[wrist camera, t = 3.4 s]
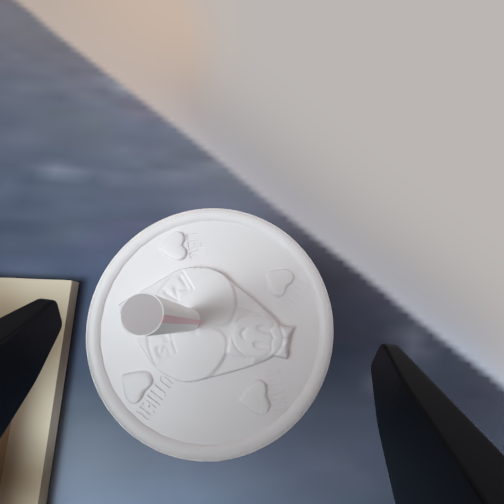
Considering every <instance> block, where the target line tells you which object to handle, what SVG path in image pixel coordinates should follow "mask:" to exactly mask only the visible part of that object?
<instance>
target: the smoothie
mask: <svg viewBox="0 0 504 504" xmlns="http://www.w3.org/2000/svg"><path fill="white" fill-rule="evenodd" d="M333 328H334V327H333V315H332V309H331V304H330V300H329V296H328V293H327V290H326V287H325V285H324V282H323V280H322V278H321V276H320V274H319V272H318V270H317V268H316V266H315V265H314V263H313V262H312V260H311V259H310V257H309V256H308V255H307V253H306V252H305V251H304V250H303V249H302V248H301V247H300V245H299V244H298V243H297V242H296V241H294V240H293V239H292V238H291V237H290V236H289V235H288V234H286V233H285V232H284V231H282V230H281V229H280V228H278V227H276V226H275V225H273V224H271V223H270V222H267V221H265V220H263V219H261V218H259V217H256V216H254V215H251V214H248V213H244V212H240V211H235V210H229V209H218V208H211V209H197V210H191V211H186V212H182V213H178V214H175V215H172V216H169V217H167V218H164V219H162V220H160V221H158V222H156V223H154V224H152V225H150V226H149V227H147V228H146V229H144V230H143V231H141V232H140V233H138V234H137V235H136V236H135V237H133V238H132V239H131V240H130V241H129V242H128V243H127V244H126V245H125V246H123V248H122V249H121V250H120V251H119V252H118V253H117V254H116V255H115V257H114V258H113V259H112V261H111V262H110V263H109V265H108V266H107V268H106V270H105V271H104V273H103V275H102V276H101V278H100V281H99V283H98V285H97V287H96V289H95V292H94V295H93V297H92V301H91V304H90V308H89V313H88V318H87V326H86V351H87V359H88V364H89V368H90V373H91V376H92V379H93V382H94V385H95V387H96V389H97V391H98V394H99V396H100V398H101V399H102V401H103V403H104V404H105V406H106V408H107V409H108V411H109V412H110V413H111V415H112V416H113V417H114V419H115V420H116V421H117V422H118V423H119V424H120V425H121V426H122V427H123V428H124V429H125V430H126V431H127V432H128V433H130V434H131V435H132V436H133V437H134V438H136V439H137V440H139V441H140V442H142V443H143V444H145V445H147V446H148V447H150V448H152V449H154V450H156V451H158V452H161V453H163V454H166V455H169V456H172V457H176V458H179V459H185V460H191V461H204V462H209V461H222V460H228V459H234V458H237V457H241V456H245V455H247V454H250V453H252V452H255V451H257V450H259V449H261V448H263V447H265V446H267V445H269V444H271V443H272V442H274V441H275V440H277V439H278V438H280V437H281V436H282V435H283V434H285V433H286V432H287V431H288V430H290V429H291V428H292V427H293V426H294V425H295V424H296V423H297V422H298V421H299V420H300V418H301V417H302V416H303V415H304V414H305V412H306V411H307V410H308V409H309V407H310V406H311V404H312V403H313V401H314V400H315V398H316V396H317V394H318V392H319V390H320V388H321V386H322V384H323V382H324V379H325V377H326V374H327V370H328V367H329V364H330V359H331V354H332V347H333Z"/></svg>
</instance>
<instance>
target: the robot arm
mask: <svg viewBox="0 0 504 504" xmlns="http://www.w3.org/2000/svg"><path fill="white" fill-rule="evenodd" d="M61 327H62V319H61V316H60V312H59V308H58V304H57V302H56V301H55V300H50V299H43V298H40V299H37V300H35V301H33V302H31V303H29V304H27V305H25V306H23V307H21V308H19V309H17V310H15V311H13V312H11V313H9V314H7V315H5V316H3V317H1V318H0V438H1V437H2V435H3V434H4V432H5V430H6V429H7V427H8V426H9V424H10V422H11V421H12V419H13V417H14V416H15V414H16V413H17V411H18V409H19V408H20V406H21V405H22V403H23V401H24V400H25V398H26V396H27V395H28V393H29V392H30V390H31V388H32V387H33V385H34V383H35V381H36V380H37V378H38V376H39V374H40V372H41V370H42V368H43V366H44V364H45V362H46V360H47V357H48V355H49V353H50V351H51V349H52V347H53V345H54V343H55V341H56V339H57V337H58V335H59V333H60V330H61ZM371 373H372V382H373V391H374V399H375V408H376V416H377V423H378V429H379V434H380V438H381V443H382V447H383V451H384V456H385V460H386V465H387V469H388V473H389V478H390V482H391V486H392V491H393V495H394V500H395V504H504V455H503V454H502V453H501V452H500V451H499V450H498V449H497V448H496V447H495V446H494V445H493V444H492V443H491V442H490V441H489V440H488V439H487V438H486V436H485V435H484V434H483V433H482V432H481V431H480V430H479V429H478V428H477V427H476V426H475V425H474V424H473V423H472V422H471V421H470V420H469V419H468V418H467V417H466V416H465V415H464V414H463V413H462V412H461V411H460V410H459V409H458V408H457V407H456V405H455V404H454V403H453V402H452V401H451V400H450V399H449V398H448V397H447V396H446V395H445V394H444V393H443V392H442V391H441V390H440V389H439V388H438V387H437V386H436V385H435V384H434V383H433V382H432V381H431V380H430V379H429V378H428V377H427V375H426V374H425V373H424V372H423V371H422V370H421V369H420V368H419V367H418V366H417V365H416V364H415V363H414V362H413V361H412V360H411V359H410V358H409V357H408V356H407V355H406V354H405V353H404V352H403V351H402V350H401V349H400V348H399V347H398V346H396V345H391V344H382V345H380V347H379V349H378V351H377V353H376V355H375V358H374V360H373V362H372V365H371Z"/></svg>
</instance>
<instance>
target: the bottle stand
mask: <svg viewBox="0 0 504 504" xmlns="http://www.w3.org/2000/svg"><path fill="white" fill-rule="evenodd" d="M78 286H79V282H76V281H72V280H49V279H24V278H0V318H1V317H3V316H5V315H7V314H9V313H11V312H13V311H15V310H17V309H19V308H21V307H23V306H25V305H27V304H29V303H31V302H33V301H35V300H37V299H40V298H43V299H50V300H55V301H56V302H57V304H58V308H59V312H60V316H61V319H62V327H61V330H60V333H59V335H58V337H57V339H56V341H55V343H54V345H53V347H52V349H51V351H50V353H49V355H48V357H47V360H46V362H45V364H44V366H43V368H42V370H41V372H40V374H39V376H38V378H37V380H36V381H35V383H34V385H33V387H32V388H31V390H30V392H29V393H28V395H27V396H26V398H25V400H24V401H23V403H22V405H21V406H20V408H19V409H18V411H17V413H16V414H15V416H14V417H13V419H12V421H11V422H10V424H9V426H8V427H7V429H6V430H5V432H4V434H3V435H2V437H1V438H0V504H46V503H47V496H48V489H49V482H50V476H51V469H52V462H53V455H54V449H55V442H56V435H57V428H58V422H59V415H60V408H61V401H62V395H63V388H64V381H65V374H66V368H67V361H68V354H69V347H70V340H71V334H72V327H73V320H74V313H75V307H76V300H77V293H78Z"/></svg>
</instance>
